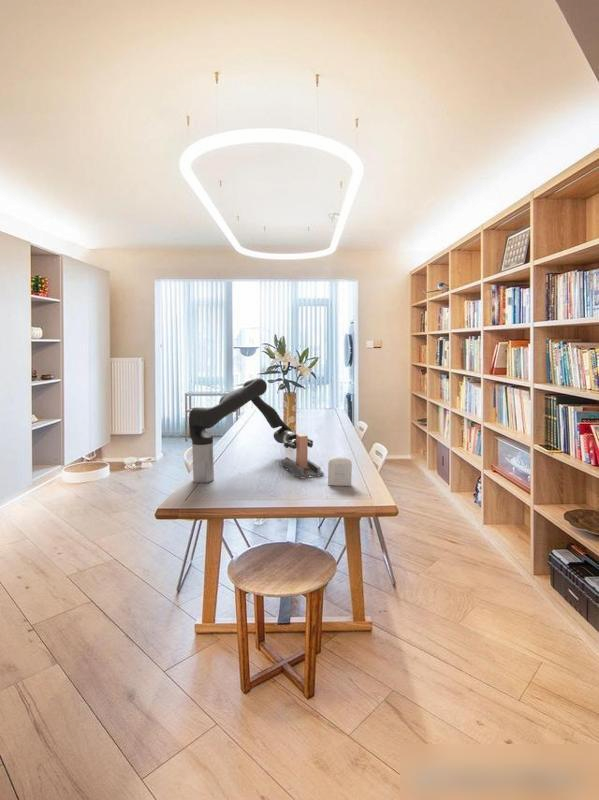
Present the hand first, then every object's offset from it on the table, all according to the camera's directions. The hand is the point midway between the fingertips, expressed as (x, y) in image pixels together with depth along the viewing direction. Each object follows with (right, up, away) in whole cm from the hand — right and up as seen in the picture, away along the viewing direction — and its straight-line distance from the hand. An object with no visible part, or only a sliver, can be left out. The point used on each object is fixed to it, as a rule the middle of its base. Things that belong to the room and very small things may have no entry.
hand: (303, 446), depth 202 cm
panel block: (-1, -11, +3) cm, 11 cm away
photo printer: (+16, -15, -20) cm, 29 cm away
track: (-1, -12, +3) cm, 13 cm away
